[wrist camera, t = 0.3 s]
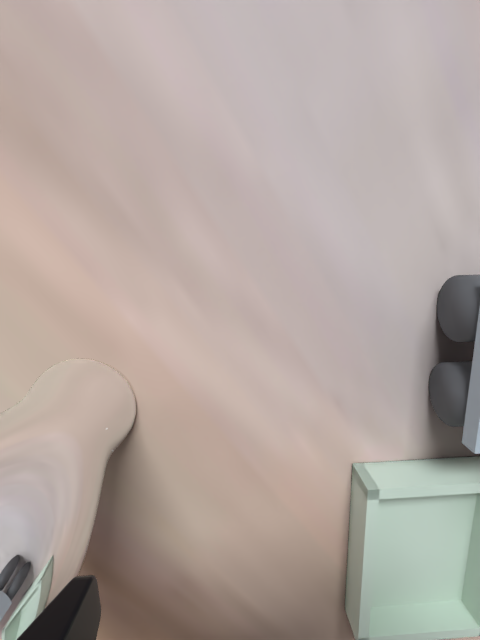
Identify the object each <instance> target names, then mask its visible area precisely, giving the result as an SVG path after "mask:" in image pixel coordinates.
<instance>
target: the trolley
mask: <svg viewBox="0 0 480 640" xmlns="http://www.w3.org/2000/svg"><path fill="white" fill-rule="evenodd" d="M437 315H438V320H439V323H440V326H441V328H442V330H443V332H444V333H445V334H446V336H447V337H448V338H450V339H451V340H453V341H456V342H471V341H475V346H474V353H473V361H467V362H445V363H439V364H437V365H436V366H435V367H434V369H433V370H432V372H431V375H430V379H429V394H430V399H431V403H432V406H433V408H434V410H435V412H436V414H437V415H438V417H439V418H440V419H441V420H442V421H443V422H444V423H445V424H447V425H448V426H452V427H457V426H464V429H463V437H462V443H463V444H464V445H465V446H466V447H467V448H468V449H470V450H471V451H472V452H473V453H474V454H480V275H457V276H453V277H451V278H449V279H448V280H447V281H446V282H445V283H444V285H443V286H442V288H441V290H440V293H439V296H438V301H437Z"/></svg>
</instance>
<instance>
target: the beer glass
mask: <svg viewBox="0 0 480 640" xmlns="http://www.w3.org/2000/svg"><path fill="white" fill-rule="evenodd" d="M135 416H136V401H135V397H134V393H133V391H132V389H131V387H130V385H129V383H128V382H127V381H126V379H125V378H124V377H123V376H122V375H121V374H120V373H119V372H118V371H116V370H115V369H114V368H112V367H110V366H109V365H107V364H105V363H102V362H100V361H96V360H92V359H84V358H77V359H69V360H65V361H62V362H59V363H57V364H55V365H53V366H51V367H50V368H48V369H47V370H46V371H45V372H43V373H42V374H41V375H40V376H39V378H38V379H37V380H36V381H35V383H34V384H33V386H32V387H31V389H30V390H29V392H28V393H27V395H26V396H25V397H24V398H23V399H22V400H21V401H20V402H19V403H17V404H16V405H14V406H13V407H11V408H9V409H7V410H5V411H3V412H2V413H0V640H17V638H18V637H19V636H20V635H21V634H22V633H23V632H24V631H25V630H26V629H27V628H28V626H29V625H30V624H31V623H32V622H33V621H34V620H35V619H36V618H37V617H38V615H39V614H40V613H41V612H42V611H43V610H44V609H45V608H46V607H47V606H48V605H49V603H50V602H51V601H52V600H53V599H54V598H55V597H56V596H57V595H58V594H59V593H60V591H61V590H62V589H63V588H64V587H65V586H66V585H67V584H68V583H69V582H70V581H71V580H72V579H73V578H74V577H77V576H78V575H79V572H80V570H81V567H82V564H83V562H84V559H85V556H86V552H87V548H88V545H89V541H90V537H91V534H92V530H93V526H94V522H95V518H96V513H97V508H98V503H99V499H100V494H101V489H102V483H103V478H104V474H105V469H106V465H107V462H108V460H109V457H110V456H111V454H112V453H113V451H114V450H115V449H116V448H117V447H118V446H119V445H120V443H121V442H122V441H123V440H124V439H125V437H126V436H127V435H128V433H129V432H130V430H131V428H132V426H133V423H134V420H135Z"/></svg>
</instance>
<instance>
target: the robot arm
mask: <svg viewBox="0 0 480 640" xmlns="http://www.w3.org/2000/svg"><path fill="white" fill-rule="evenodd" d="M100 616H101V605H100V598H99V591H98V585H97V579H96V577H95V576H93V575H88V576H77V577H74V578H73V579H72V580H71V581H70V582H69V583H68V584H67V585H66V586H65V587H64V588H63V589H62V590H61V591H60V593H59V594H58V595H57V596H56V597H55V598H54V599H53V600H52V601H51V602H50V603H49V605H48V606H47V607H46V608H45V609H44V610H43V611H42V612H41V613H40V614H39V615H38V617H37V618H36V619H35V620H34V621H33V622H32V623H31V624H30V625H29V626H28V628H27V629H26V630H25V631H24V632H23V633H22V634H21V635H20V636H19V637H18V638H17V640H96V637H97V632H98V627H99V622H100Z"/></svg>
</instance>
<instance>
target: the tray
mask: <svg viewBox="0 0 480 640" xmlns="http://www.w3.org/2000/svg"><path fill="white" fill-rule="evenodd" d="M345 610H346V613H347V616H348V619H349V622H350V625H351V628H352V631H353V634H354V637H355V640H439V639H451V638H463V637H475V636H480V456H473V457H456V458H439V459H422V460H405V461H388V462H370V463H353V464H352V482H351V501H350V520H349V538H348V557H347V576H346V594H345Z"/></svg>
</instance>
